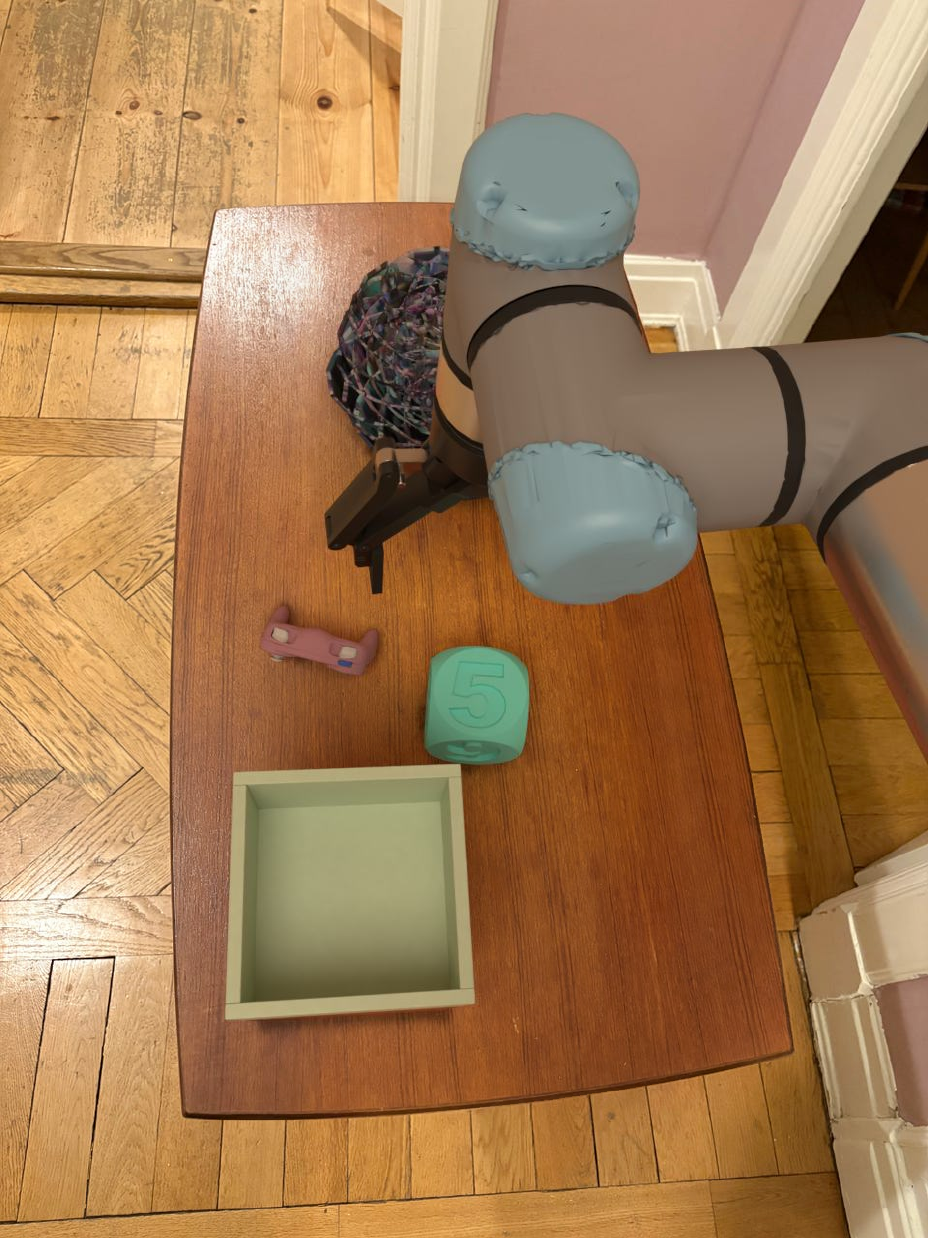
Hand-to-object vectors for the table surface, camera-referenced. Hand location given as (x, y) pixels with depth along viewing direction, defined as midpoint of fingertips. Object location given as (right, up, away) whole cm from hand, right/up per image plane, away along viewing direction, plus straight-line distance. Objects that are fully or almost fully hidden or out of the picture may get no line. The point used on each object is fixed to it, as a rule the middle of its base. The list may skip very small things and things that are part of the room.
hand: (465, 568), depth 71 cm
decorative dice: (0, -13, +13) cm, 18 cm away
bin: (-7, -22, -9) cm, 25 cm away
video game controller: (-13, -7, +14) cm, 20 cm away
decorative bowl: (-1, +17, +26) cm, 31 cm away
